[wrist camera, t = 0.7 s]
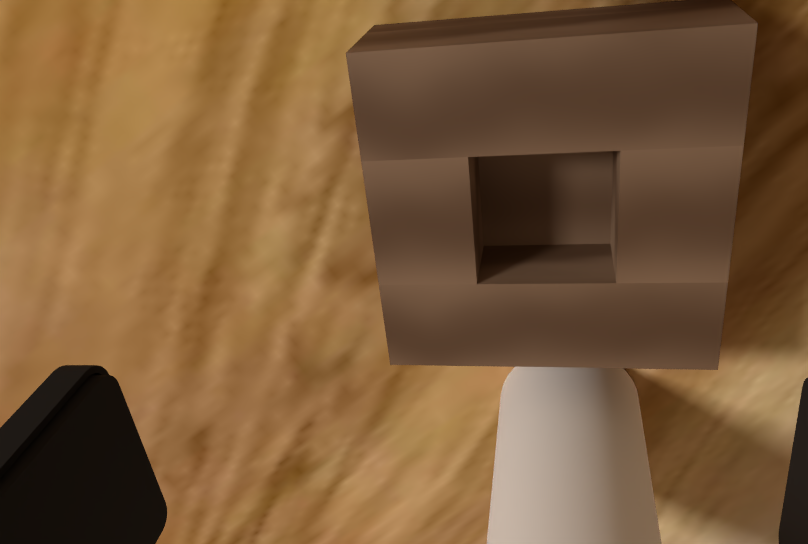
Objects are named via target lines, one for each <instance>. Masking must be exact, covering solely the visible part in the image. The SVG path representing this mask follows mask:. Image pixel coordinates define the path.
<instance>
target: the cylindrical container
mask: <svg viewBox="0 0 808 544" xmlns="http://www.w3.org/2000/svg"><path fill="white" fill-rule="evenodd" d="M487 544H661V537H660V531H659V525H658V518H657V512H656V506H655V499H654V493H653V487H652V480H651V474H650V468H649V461H648V455H647V448H646V442H645V436H644V429H643V423H642V417H641V410H640V404H639V398H638V392H637V389H636V386H635V384H634V382H633V380H632V379H631V377H630V376H629V374H628V373H627V372H626V371H625V370H624V369H623V368H574V367H515V368H514V369H513V370H512V371H511V372H510V373H509V374H508V376H507V378H506V380H505V382H504V384H503V388H502V392H501V399H500V410H499V420H498V431H497V442H496V452H495V463H494V473H493V484H492V494H491V505H490V515H489V526H488V536H487Z"/></svg>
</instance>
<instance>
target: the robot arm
mask: <svg viewBox="0 0 808 544" xmlns="http://www.w3.org/2000/svg"><path fill="white" fill-rule="evenodd" d="M166 518H167V506H166V502H165V500H164V497H163V495H162V492H161V490H160V487H159V485H158V482H157V480H156V477H155V475H154V472H153V469H152V467H151V464H150V462H149V459H148V457H147V454H146V452H145V449H144V447H143V444H142V441H141V439H140V436H139V434H138V431H137V429H136V426H135V424H134V421H133V419H132V416H131V414H130V411H129V408H128V406H127V403H126V401H125V398H124V396H123V393H122V391H121V388H120V386H119V383H118V381H117V380H116V378H114V377H113V376H110V375H109V374H108V372H107V370H105V369H104V368H103V367H101V366H97V365H65V366H61V367H59V368H57V369H56V370H55V371H53V373H52V374H51V375H50V376H49V377H48V378H47V379H46V380H45V381H44V382H43V383H42V384H41V385H40V386H39V387H38V388H37V390H36V391H35V392H34V393H33V394H32V395H31V396H30V397H29V398H28V399H27V400H26V401H25V402H24V403H23V404H22V405H21V407H20V408H19V409H18V410H17V411H16V412H15V413H14V414H13V415H12V416H11V417H10V418H9V419H8V420H7V421H6V422H5V424H4V425H3V426H2V427H1V428H0V544H155V543H156V541H157V540H158V538H159V536H160V534H161V533H162V531H163V528H164V526H165V523H166ZM779 544H808V378H806V379H805V381H804V383H803V387H802V393H801V399H800V405H799V411H798V418H797V424H796V430H795V436H794V442H793V448H792V454H791V460H790V466H789V472H788V479H787V485H786V491H785V497H784V503H783V509H782V515H781V521H780V527H779Z"/></svg>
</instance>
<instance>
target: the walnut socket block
mask: <svg viewBox="0 0 808 544" xmlns="http://www.w3.org/2000/svg"><path fill="white" fill-rule="evenodd" d="M757 27H758V23H757V22H756V21H755V20H754V19H753V18H751V17H750V16H749V15H748V14H747V13H745V12H744V11H743V10H742V9H741V8H740V7H738V6H737V5H736V4H735V3H734V2H732V1H731V0H685V1H672V2H660V3H647V4H635V5H622V6H610V7H597V8H585V9H572V10H560V11H547V12H535V13H522V14H510V15H497V16H484V17H472V18H459V19H447V20H434V21H422V22H409V23H397V24H384V25H374V26H373V27H372V28H371V29H370V30H369V31H368V32H367V33H366V34H365V35H364V36H363V37H362V38H361V39H360V40H359V41H358V42H357V43H356V44H355V45H354V46H353V47H352V48H350V49H349V50H348V51H347V52H346V57H347V64H348V71H349V78H350V85H351V92H352V99H353V106H354V113H355V120H356V127H357V134H358V141H359V148H360V155H361V162H362V169H363V176H364V183H365V190H366V197H367V204H368V211H369V218H370V225H371V232H372V239H373V246H374V253H375V260H376V268H377V275H378V282H379V289H380V296H381V303H382V310H383V317H384V324H385V331H386V338H387V345H388V352H389V359H390V365H445V366H509V367H574V368H638V369H702V370H718V364H719V355H720V346H721V338H722V329H723V321H724V312H725V303H726V295H727V286H728V277H729V269H730V260H731V252H732V243H733V234H734V226H735V217H736V208H737V200H738V191H739V183H740V174H741V165H742V157H743V148H744V139H745V131H746V122H747V114H748V105H749V96H750V88H751V79H752V70H753V62H754V53H755V45H756V36H757Z"/></svg>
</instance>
